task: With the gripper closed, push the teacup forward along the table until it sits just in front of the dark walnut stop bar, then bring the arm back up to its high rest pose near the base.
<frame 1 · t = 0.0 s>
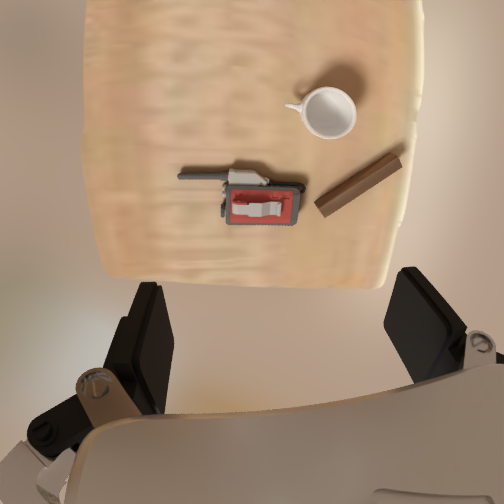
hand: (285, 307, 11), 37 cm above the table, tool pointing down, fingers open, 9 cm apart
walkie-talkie: (241, 193, 48), on the table
stop bar: (355, 181, 48), on the table
teacup: (312, 109, 42), on the table
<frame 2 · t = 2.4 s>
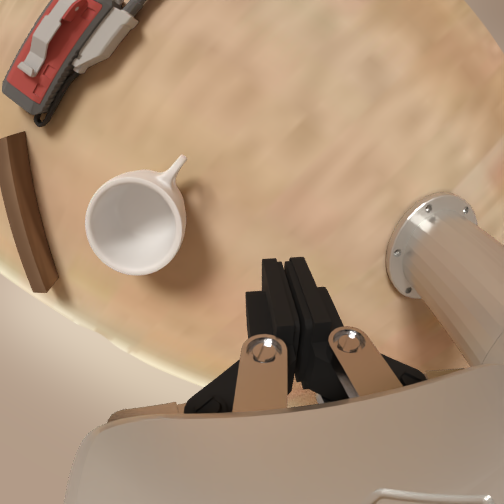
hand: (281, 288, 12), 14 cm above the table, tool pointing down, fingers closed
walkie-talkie: (92, 22, 17), on the table
stop bar: (31, 209, 24), on the table
teacup: (156, 194, 25), on the table
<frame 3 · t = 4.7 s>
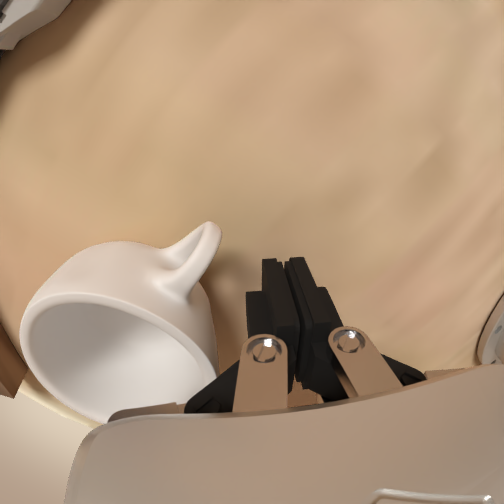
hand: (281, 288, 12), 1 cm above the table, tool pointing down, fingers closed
teacup: (152, 275, 13), on the table, touching gripper
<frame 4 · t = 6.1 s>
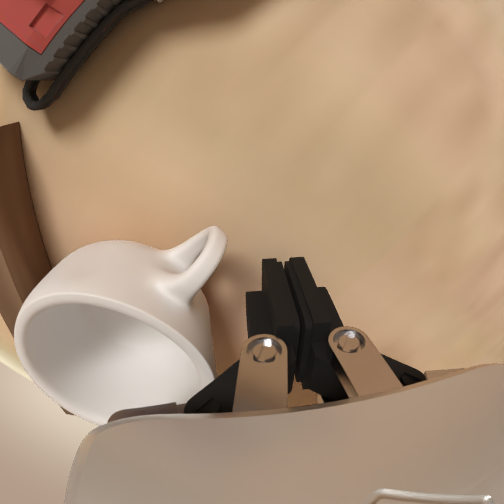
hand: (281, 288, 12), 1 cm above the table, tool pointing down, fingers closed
stop bar: (41, 280, 13), on the table
teacup: (150, 275, 13), on the table, touching gripper
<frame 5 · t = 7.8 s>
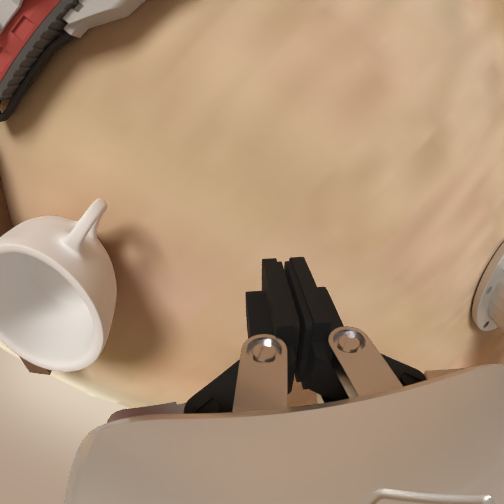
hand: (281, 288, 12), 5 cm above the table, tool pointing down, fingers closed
stop bar: (10, 254, 15), on the table
teacup: (78, 245, 15), on the table
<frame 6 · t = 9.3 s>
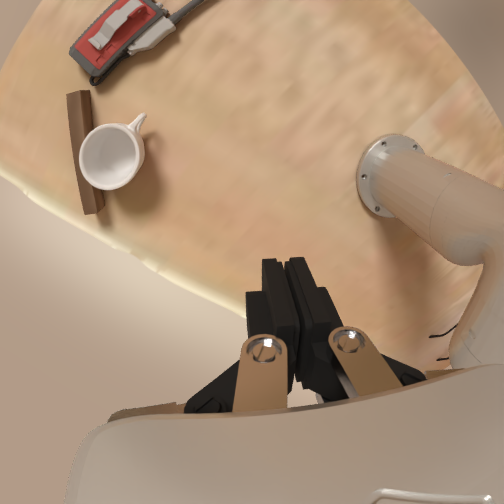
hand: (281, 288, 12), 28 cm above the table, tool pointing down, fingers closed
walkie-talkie: (143, 21, 27), on the table
stop bar: (89, 149, 34), on the table
teacup: (127, 142, 34), on the table
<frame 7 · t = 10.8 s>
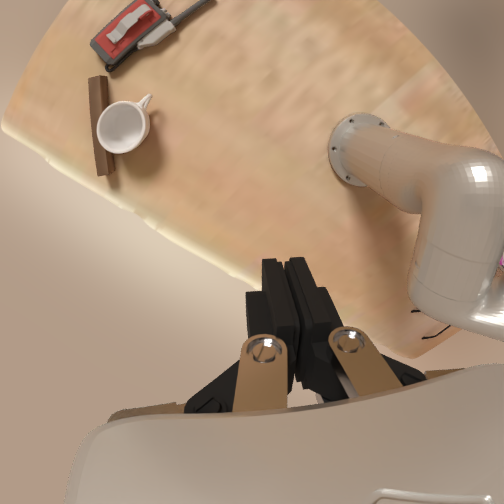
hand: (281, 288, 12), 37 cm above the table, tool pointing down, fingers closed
candy bar box: (496, 238, 57), on the table
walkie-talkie: (150, 22, 34), on the table
stop bar: (104, 124, 41), on the table
teacup: (136, 118, 41), on the table
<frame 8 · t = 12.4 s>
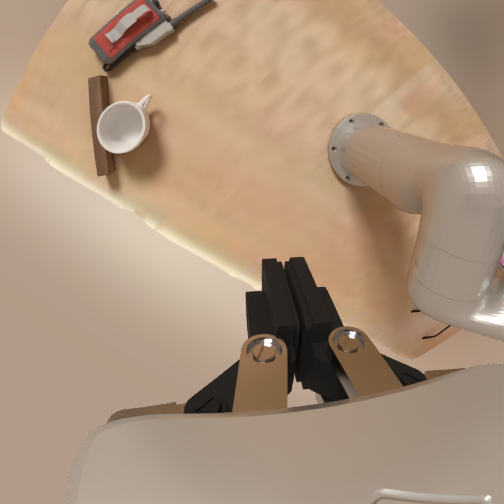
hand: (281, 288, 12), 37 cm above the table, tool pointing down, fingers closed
candy bar box: (496, 238, 57), on the table
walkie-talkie: (149, 22, 34), on the table
stop bar: (104, 124, 41), on the table
teacup: (136, 118, 41), on the table
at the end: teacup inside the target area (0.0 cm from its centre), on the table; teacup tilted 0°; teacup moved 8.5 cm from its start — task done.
